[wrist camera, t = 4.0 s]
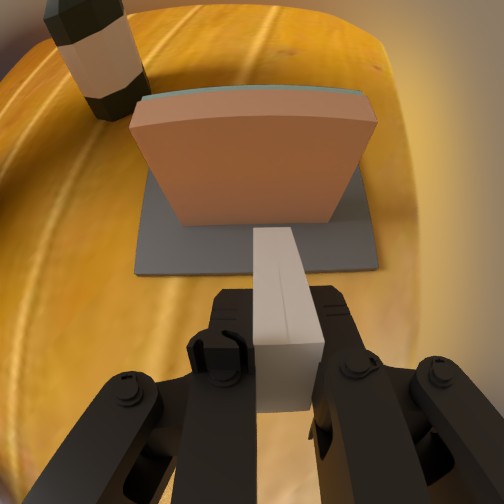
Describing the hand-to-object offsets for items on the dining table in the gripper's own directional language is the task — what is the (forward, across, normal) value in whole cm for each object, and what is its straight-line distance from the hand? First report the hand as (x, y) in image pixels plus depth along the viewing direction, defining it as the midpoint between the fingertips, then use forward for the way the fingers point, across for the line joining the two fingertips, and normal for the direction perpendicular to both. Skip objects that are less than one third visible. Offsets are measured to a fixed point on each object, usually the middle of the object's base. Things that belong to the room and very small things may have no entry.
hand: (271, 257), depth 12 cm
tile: (+12, -1, -2) cm, 12 cm away
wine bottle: (+25, -17, +10) cm, 32 cm away
